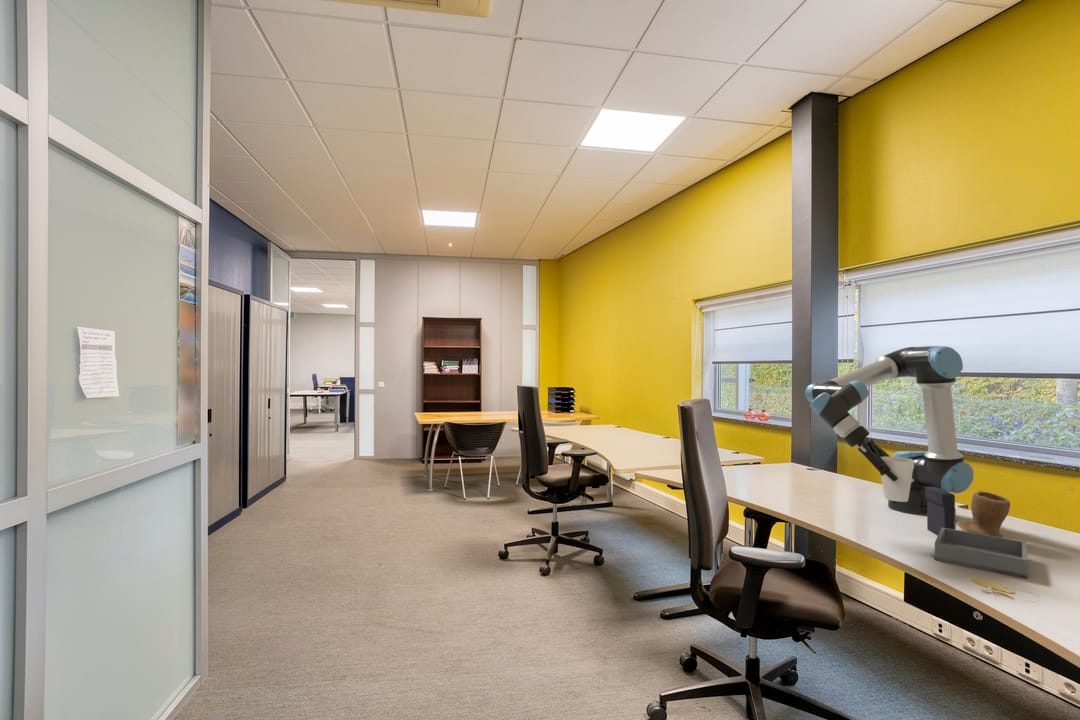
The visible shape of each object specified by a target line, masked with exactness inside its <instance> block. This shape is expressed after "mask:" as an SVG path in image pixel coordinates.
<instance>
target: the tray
mask: <svg viewBox="0 0 1080 720" xmlns="http://www.w3.org/2000/svg"><path fill="white" fill-rule="evenodd" d="M934 561H937V562H943V563H947V564H952V565H957V566H962V567H968V568H973V569H977V570H982V571H986V572H991V573H996V574H1001V575H1007V576H1010V577H1011V576H1012V577H1015V578H1016V577H1017V578H1019V579H1020V578H1021V579H1026V580H1028V579H1029V578H1028V576H1029V571H1028V570H1029V569H1028V567H1029V566H1028V563H1029V562H1028V548H1027V541H1024V540H1018V539H1012V538H1007V537H1003V538H1001V537H995V536H990V535H984V534H978V533H972V532H966V531H963V530H959V529H956V530H954V529H948V528H942V527H941V530H940V532H939V534H938V535H937V537H936V539H935V542H934Z"/></svg>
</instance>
